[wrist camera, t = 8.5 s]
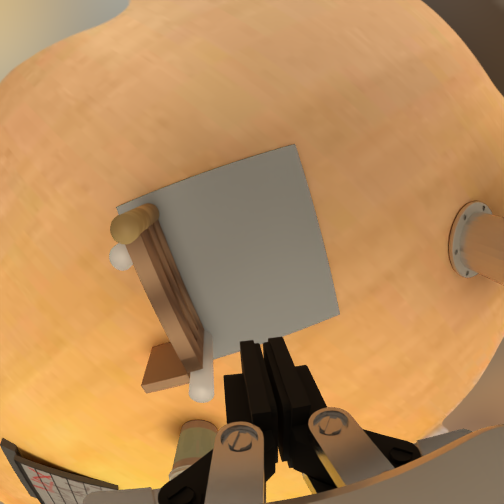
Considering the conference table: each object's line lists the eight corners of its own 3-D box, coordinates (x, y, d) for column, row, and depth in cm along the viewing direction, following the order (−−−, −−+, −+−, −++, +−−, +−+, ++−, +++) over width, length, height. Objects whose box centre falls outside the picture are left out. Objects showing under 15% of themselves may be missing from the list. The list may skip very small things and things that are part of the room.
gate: (207, 327, 34) (206, 373, 25) (188, 333, 34) (183, 380, 25) (154, 199, 30) (131, 209, 21) (134, 208, 30) (106, 220, 21)
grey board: (293, 144, 31) (331, 131, 21) (338, 312, 37) (377, 357, 27) (92, 218, 30) (45, 238, 20) (166, 370, 36) (155, 428, 26)
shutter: (118, 466, 49) (4, 433, 39) (117, 488, 42) (-4, 451, 33) (123, 513, 54) (32, 490, 44) (124, 530, 48) (29, 506, 38)
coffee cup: (163, 421, 39) (155, 480, 27) (211, 408, 39) (214, 471, 27) (189, 449, 41) (188, 504, 30) (234, 438, 41) (241, 495, 30)
